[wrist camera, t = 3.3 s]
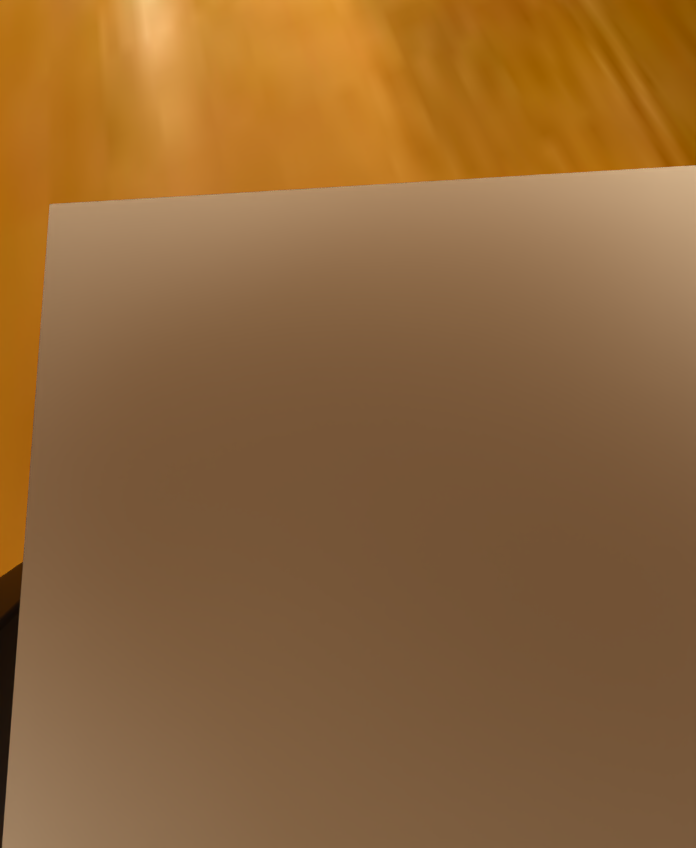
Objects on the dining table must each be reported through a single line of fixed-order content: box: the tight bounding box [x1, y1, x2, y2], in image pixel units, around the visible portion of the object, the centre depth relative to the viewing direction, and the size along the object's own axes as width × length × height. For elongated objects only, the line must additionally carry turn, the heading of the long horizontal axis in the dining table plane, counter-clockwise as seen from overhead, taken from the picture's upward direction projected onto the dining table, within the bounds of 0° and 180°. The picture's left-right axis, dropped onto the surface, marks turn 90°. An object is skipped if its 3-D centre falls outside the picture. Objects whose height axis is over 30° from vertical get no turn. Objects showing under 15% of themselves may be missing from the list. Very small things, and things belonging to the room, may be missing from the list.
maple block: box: [2, 165, 696, 848], centre depth 10 cm, size 5×5×14 cm
